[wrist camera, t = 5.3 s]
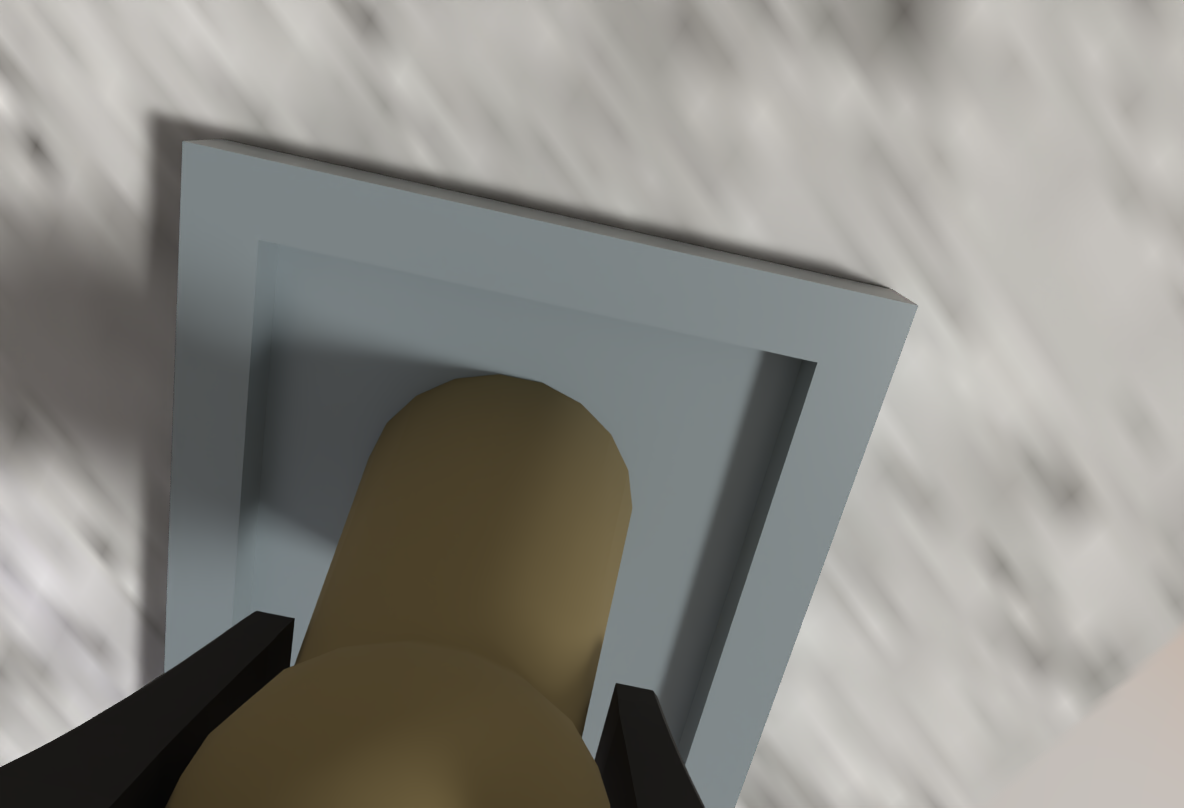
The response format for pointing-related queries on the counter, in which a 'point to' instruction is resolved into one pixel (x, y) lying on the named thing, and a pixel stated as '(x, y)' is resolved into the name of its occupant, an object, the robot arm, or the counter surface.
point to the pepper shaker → (447, 621)
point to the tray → (532, 352)
